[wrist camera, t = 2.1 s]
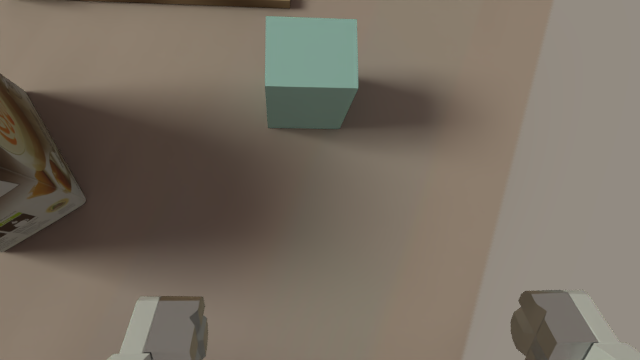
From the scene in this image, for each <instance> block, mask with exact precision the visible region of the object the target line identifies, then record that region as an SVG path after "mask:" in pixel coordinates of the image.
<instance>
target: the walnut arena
mask: <svg viewBox="0 0 640 360" xmlns="http://www.w3.org/2000/svg"><path fill="white" fill-rule="evenodd" d="M82 1H108V2H135V3H162V4H188V5H215V6H241V7H268V8H290V0H82Z"/></svg>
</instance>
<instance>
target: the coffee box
mask: <svg viewBox="0 0 640 360" xmlns="http://www.w3.org/2000/svg"><path fill="white" fill-rule="evenodd" d="M85 201H86V198H85V196H84V194H83V193H82V191H81V189H80V187H79V186H78V184H77V182H76V180H75V179H74V177H73V175H72V173H71V171H70V170H69V168H68V166H67V164H66V163H65V161H64V159H63V157H62V156H61V154H60V152H59V150H58V149H57V147H56V145H55V143H54V142H53V140H52V138H51V136H50V135H49V133H48V131H47V129H46V127H45V126H44V124H43V122H42V120H41V118H40V117H39V115H38V113H37V111H36V110H35V108H34V106H33V104H32V103H31V101H30V99H29V97H28V96H27V94H26V92H25V91H24V90H23V89H21V88H20V87H18V86H17V85H16V84H14V83H13V82H11V81H10V80H9V79H7V78H6V77H4V76H3V75H2V74H0V252H3V251H6V250H7V249H9V248H11V247H13V246H14V245H16V244H18V243H19V242H21V241H23V240H25V239H26V238H28V237H30V236H31V235H33V234H35V233H36V232H38V231H40V230H42V229H43V228H45V227H47V226H48V225H50V224H52V223H54V222H55V221H57V220H59V219H60V218H62V217H64V216H65V215H67V214H69V213H70V212H72V211H74V210H75V209H77V208H78V207H80V206H82V205H83V204H84V203H85Z"/></svg>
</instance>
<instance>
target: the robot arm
mask: <svg viewBox="0 0 640 360" xmlns="http://www.w3.org/2000/svg"><path fill="white" fill-rule="evenodd" d="M519 303H520V305H521V307H520V308H519V309H518V310H517V311H515V312H514V313H513V316H512V319H511V334H512V339H513V341H514V344H515V346H516V349H518V350H519V351H520V352H521V353H523V354H524V355H525V356H526V358H525V360H640V352H639V351H638V350H636V349H635V348H633V347H632V346H631V345H629V344H628V343H620V341H619V340H618V338H617V337H616V335H615V334H614V332H613V331H612V329H611V328H610V326H609V325H608V323H607V322H606V320H605V319H604V317H603V316H602V314H601V313H600V311H599V310H598V308H597V307H596V305H595V304H594V302H593V301H592V299H591V298H590V296H589V294H588V293H587V292H585V291H584V290H542V291H525V292H523V293H522V294H521V296H520V299H519ZM204 308H205V304H204V299H203V297H189V296H141V297H140V298H139V299H138V301H137V302H136V305H135V308H134V311H133V314H132V317H131V320H130V323H129V326H128V329H127V332H126V335H125V338H124V341H123V344H122V347H121V350H120V353H119V354H112V355H111V356H110V357H109V358H108V359H107V360H202V359H203V358H204V357H205V356H206V350H207V342H208V323H207V318H206V317H205V316H204V315H203V314H204Z"/></svg>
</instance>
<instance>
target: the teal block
mask: <svg viewBox="0 0 640 360" xmlns="http://www.w3.org/2000/svg"><path fill="white" fill-rule="evenodd" d="M357 90H358V51H357V19H331V18H303V17H275V16H266V55H265V91H266V106H267V121H268V128H312V129H340V127H341V125H342V122H343V120H344V118H345V116H346V114H347V112H348V110H349V107H350V105H351V103H352V101H353V99H354V97H355V94H356V92H357Z"/></svg>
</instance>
